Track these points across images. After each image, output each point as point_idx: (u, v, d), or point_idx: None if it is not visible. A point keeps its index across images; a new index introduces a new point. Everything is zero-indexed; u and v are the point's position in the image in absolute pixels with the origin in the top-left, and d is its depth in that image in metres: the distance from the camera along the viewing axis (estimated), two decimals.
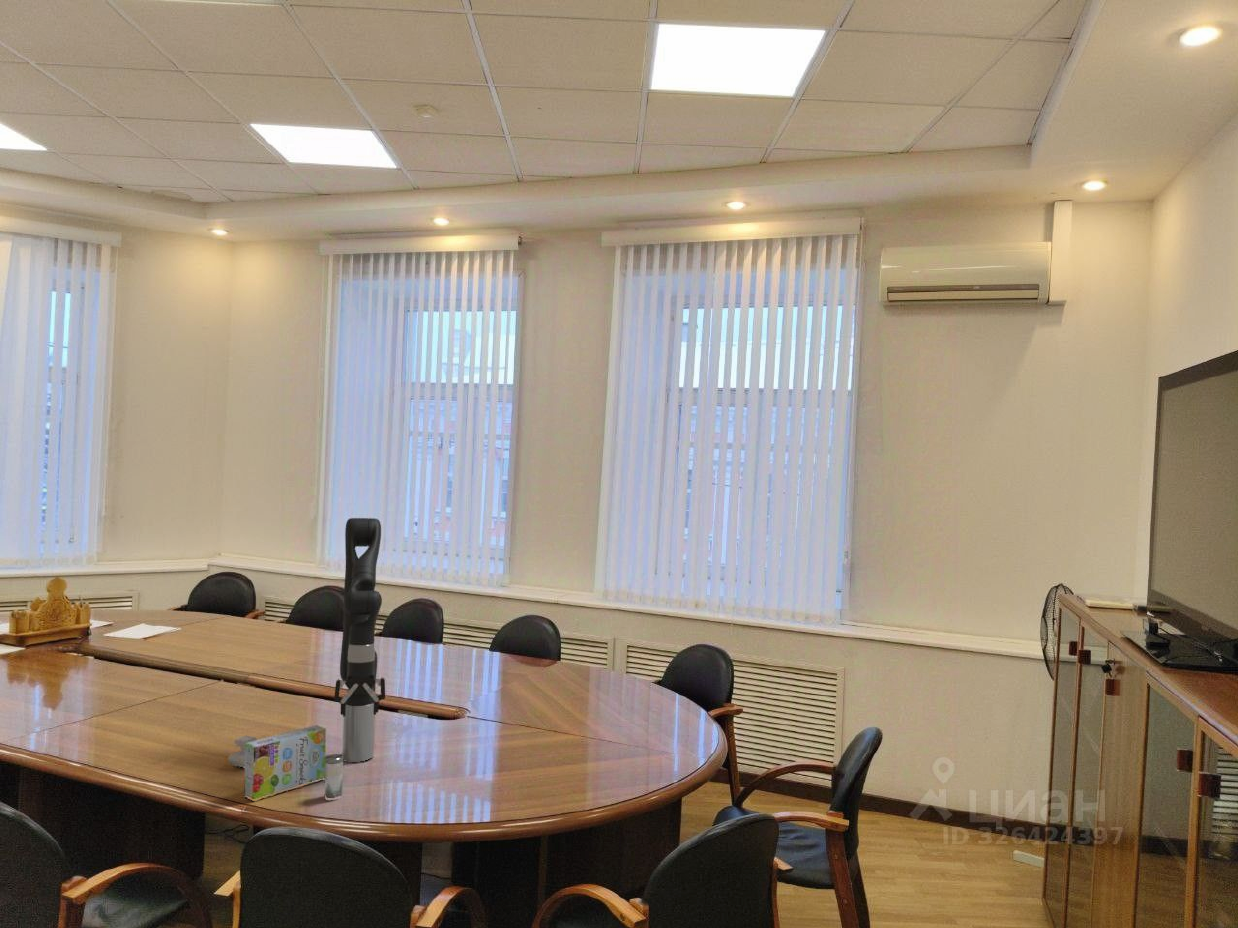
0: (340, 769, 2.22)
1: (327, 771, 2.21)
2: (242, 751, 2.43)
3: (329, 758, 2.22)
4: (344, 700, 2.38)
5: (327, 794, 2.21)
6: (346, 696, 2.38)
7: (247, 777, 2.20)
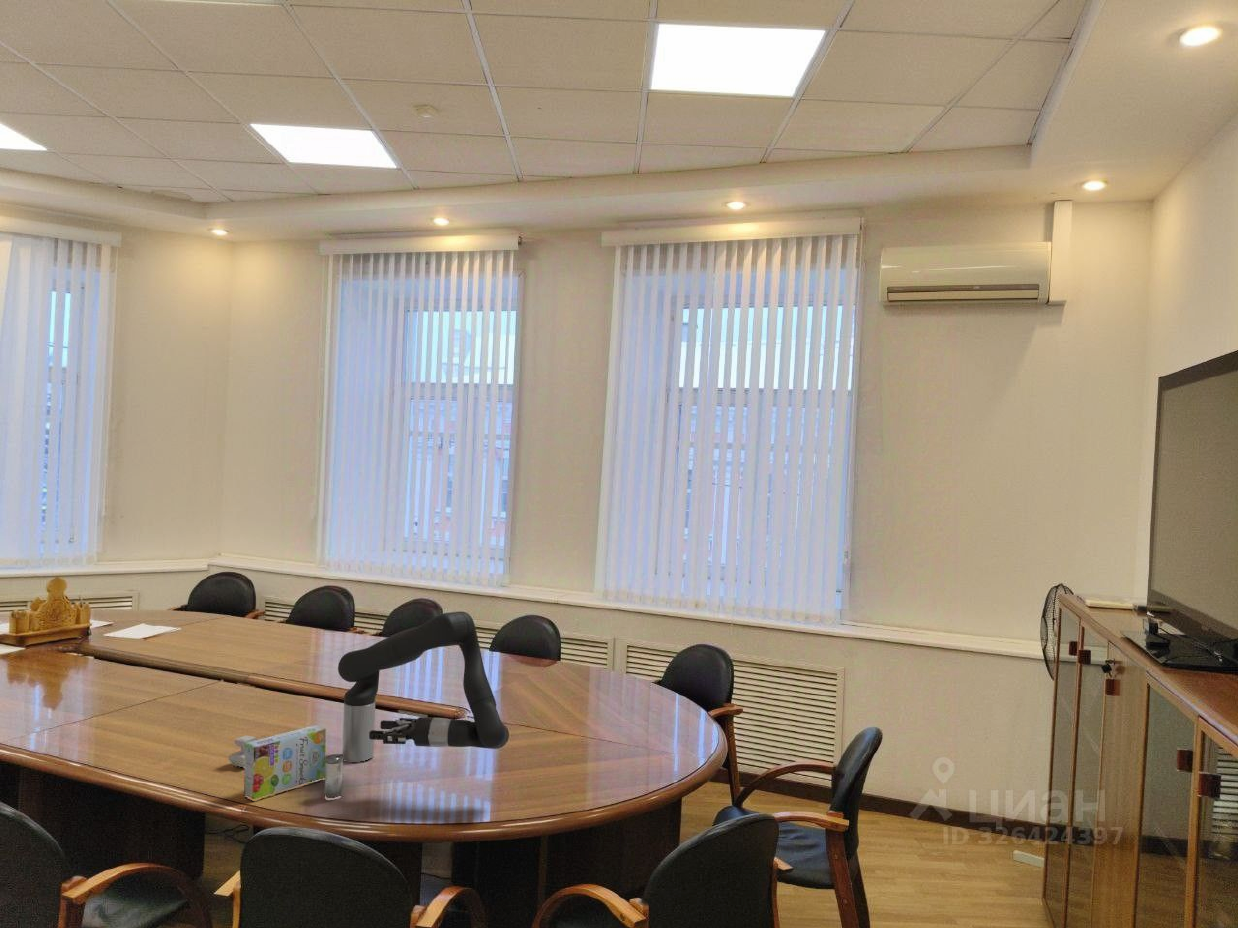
0: (340, 769, 2.22)
1: (327, 771, 2.21)
2: (242, 751, 2.43)
3: (329, 758, 2.22)
4: None
5: (327, 794, 2.21)
6: None
7: (247, 777, 2.20)
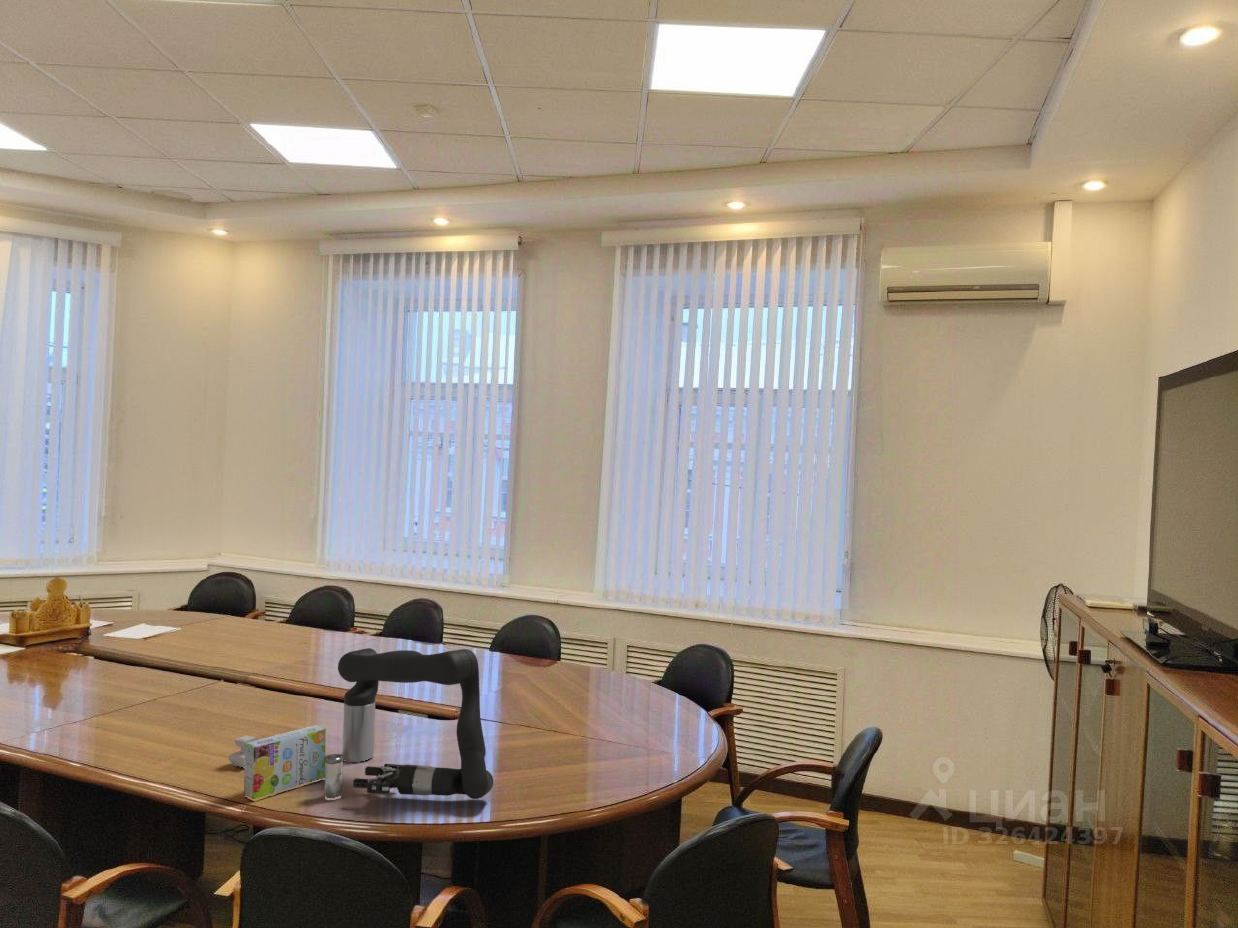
0: (340, 769, 2.22)
1: (327, 771, 2.21)
2: (242, 751, 2.43)
3: (329, 758, 2.22)
4: None
5: (327, 794, 2.21)
6: None
7: (247, 777, 2.20)
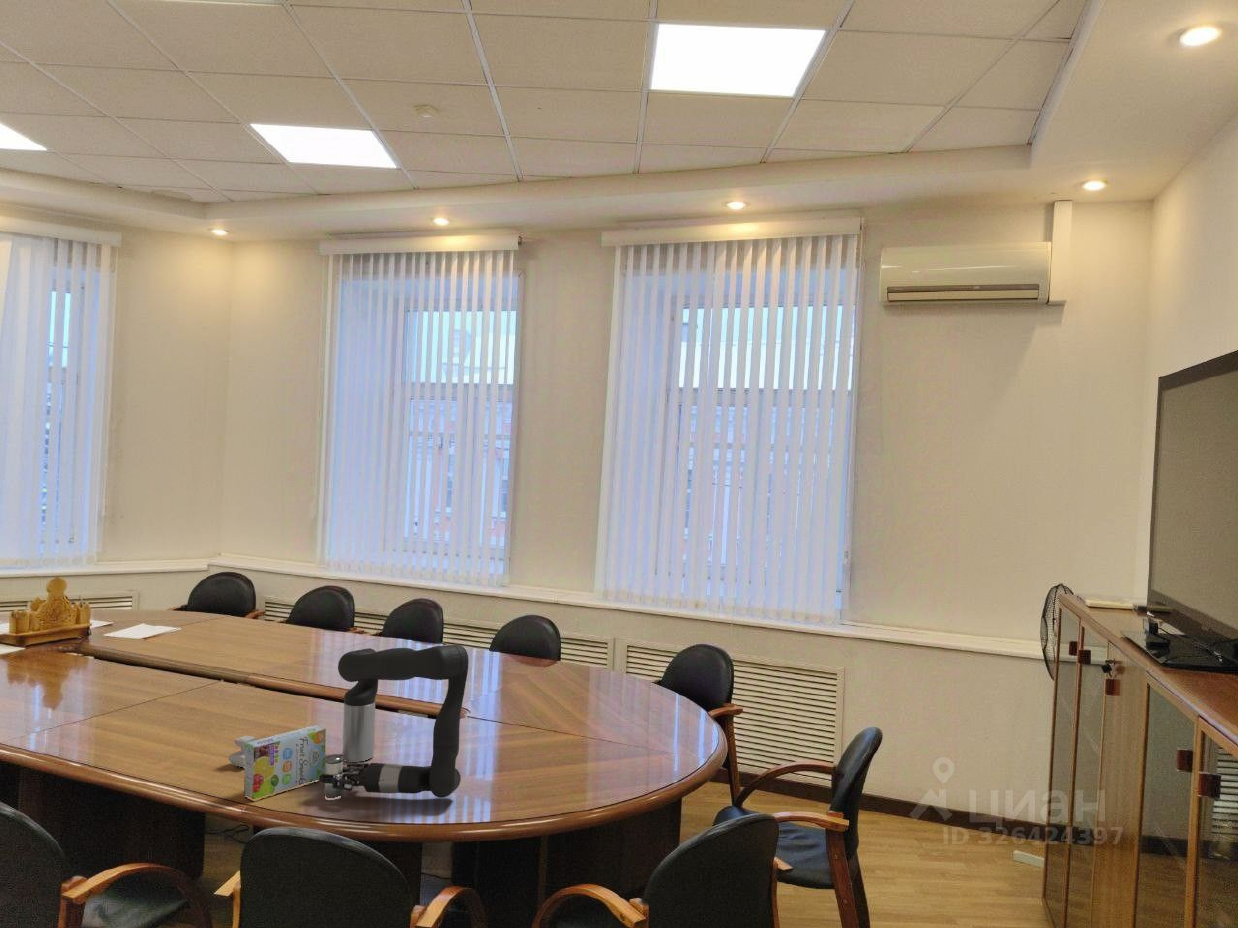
0: (340, 769, 2.22)
1: (327, 771, 2.21)
2: (242, 751, 2.43)
3: (329, 758, 2.22)
4: None
5: (327, 794, 2.21)
6: None
7: (247, 777, 2.20)
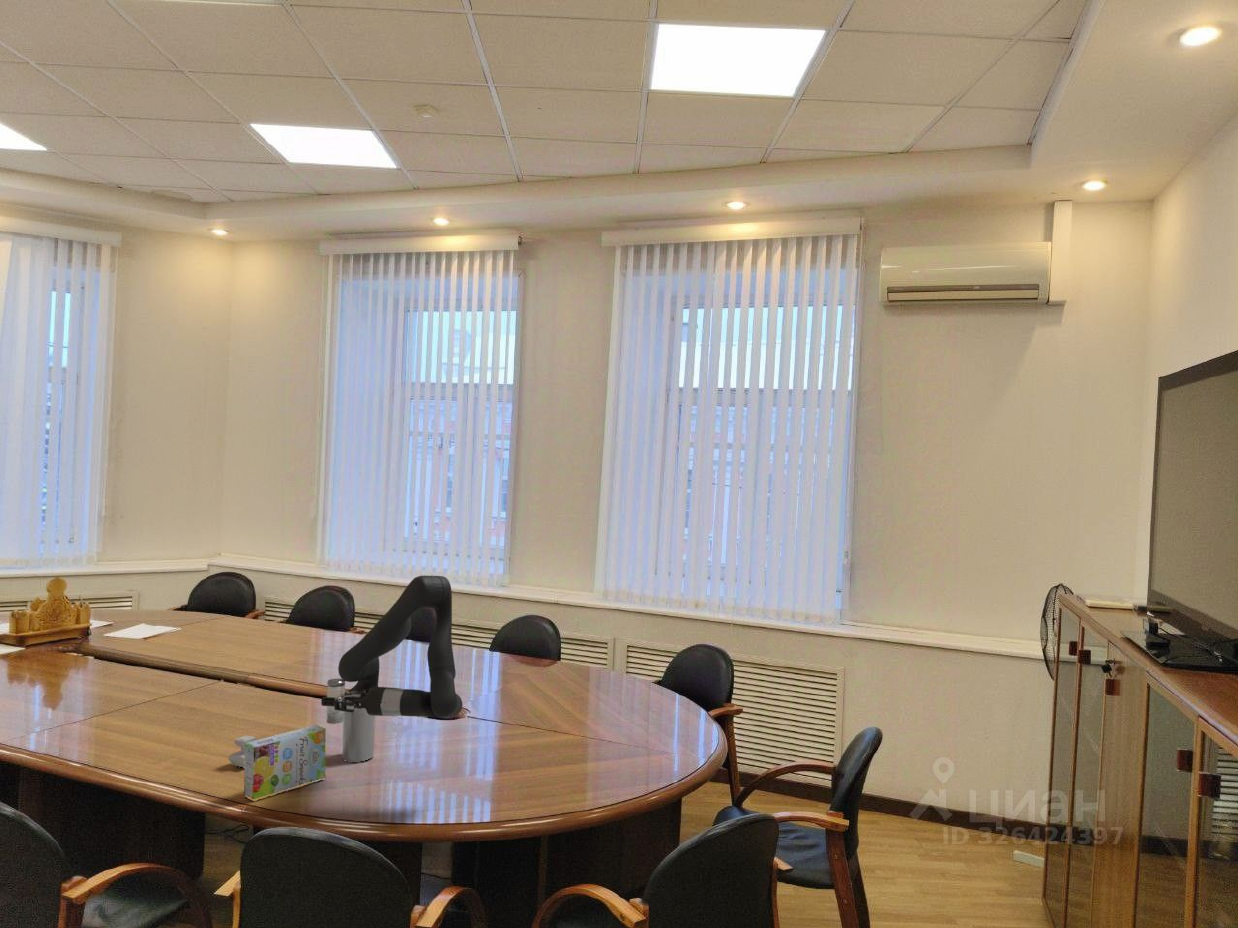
0: (342, 692, 2.22)
1: (329, 694, 2.21)
2: (242, 751, 2.43)
3: (331, 681, 2.22)
4: None
5: (329, 717, 2.21)
6: None
7: (247, 777, 2.20)
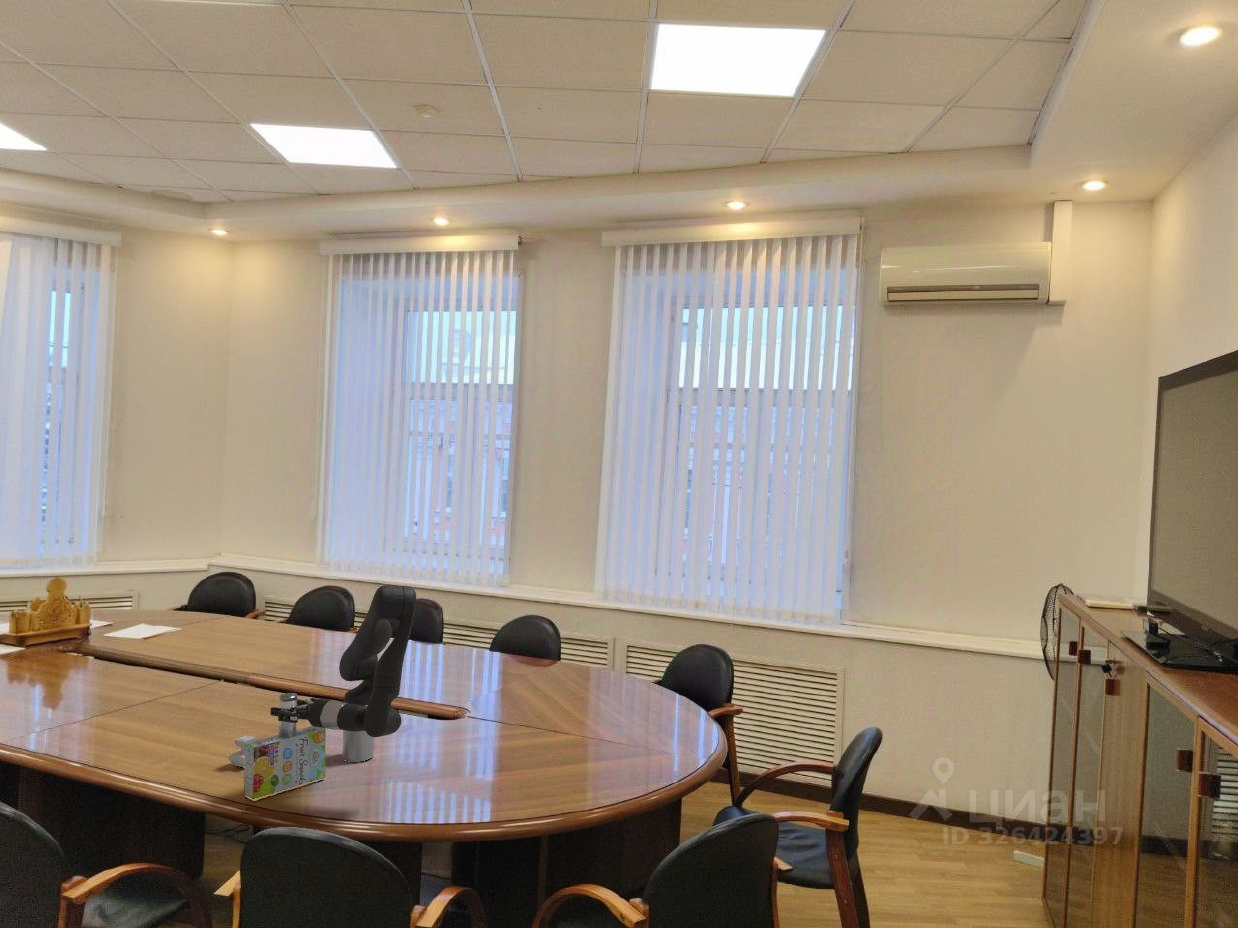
0: None
1: None
2: (242, 751, 2.43)
3: (283, 696, 2.27)
4: None
5: (279, 731, 2.26)
6: None
7: (247, 777, 2.20)
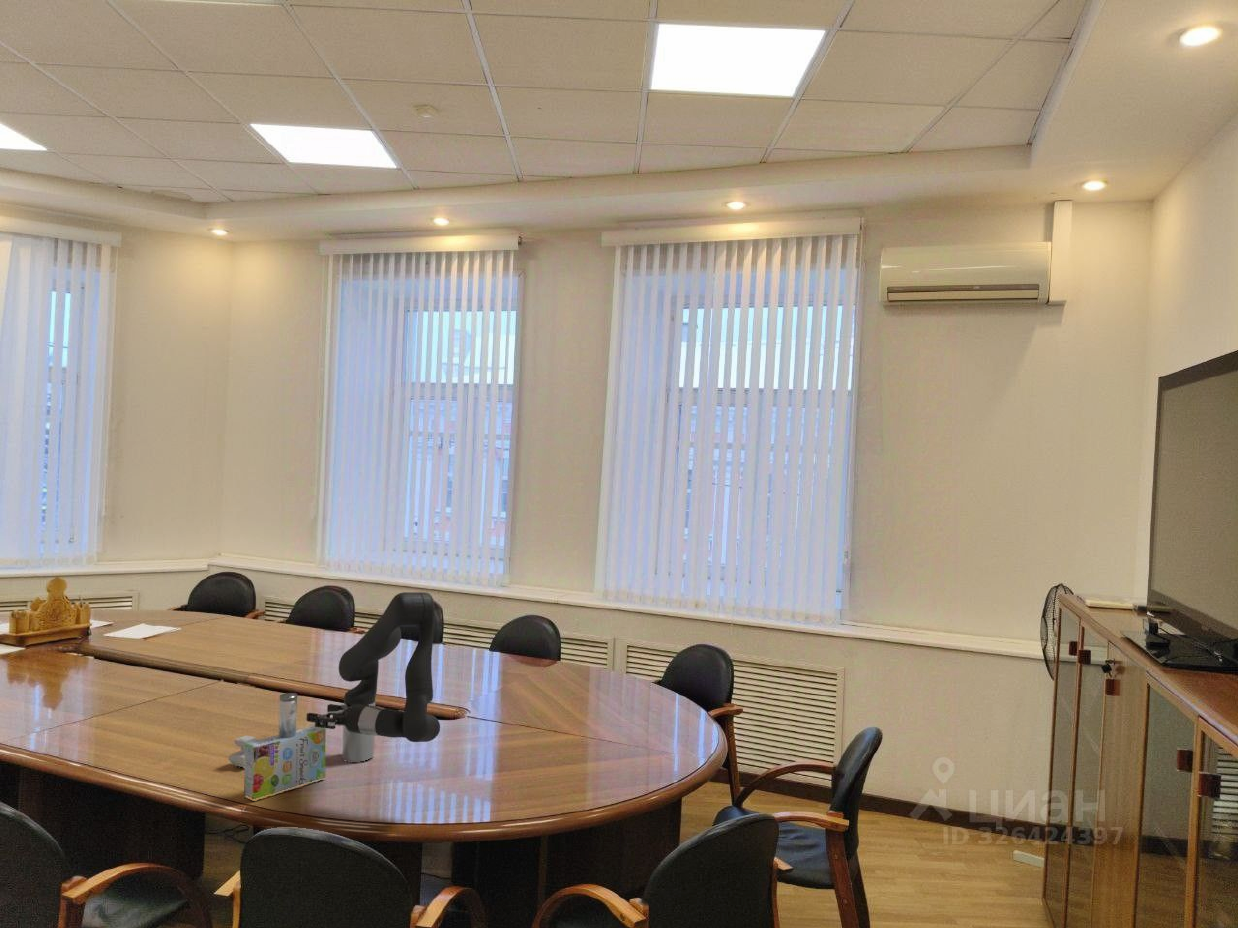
0: (292, 707, 2.27)
1: (280, 708, 2.26)
2: (242, 751, 2.43)
3: (282, 696, 2.27)
4: None
5: (279, 731, 2.26)
6: None
7: (248, 777, 2.20)
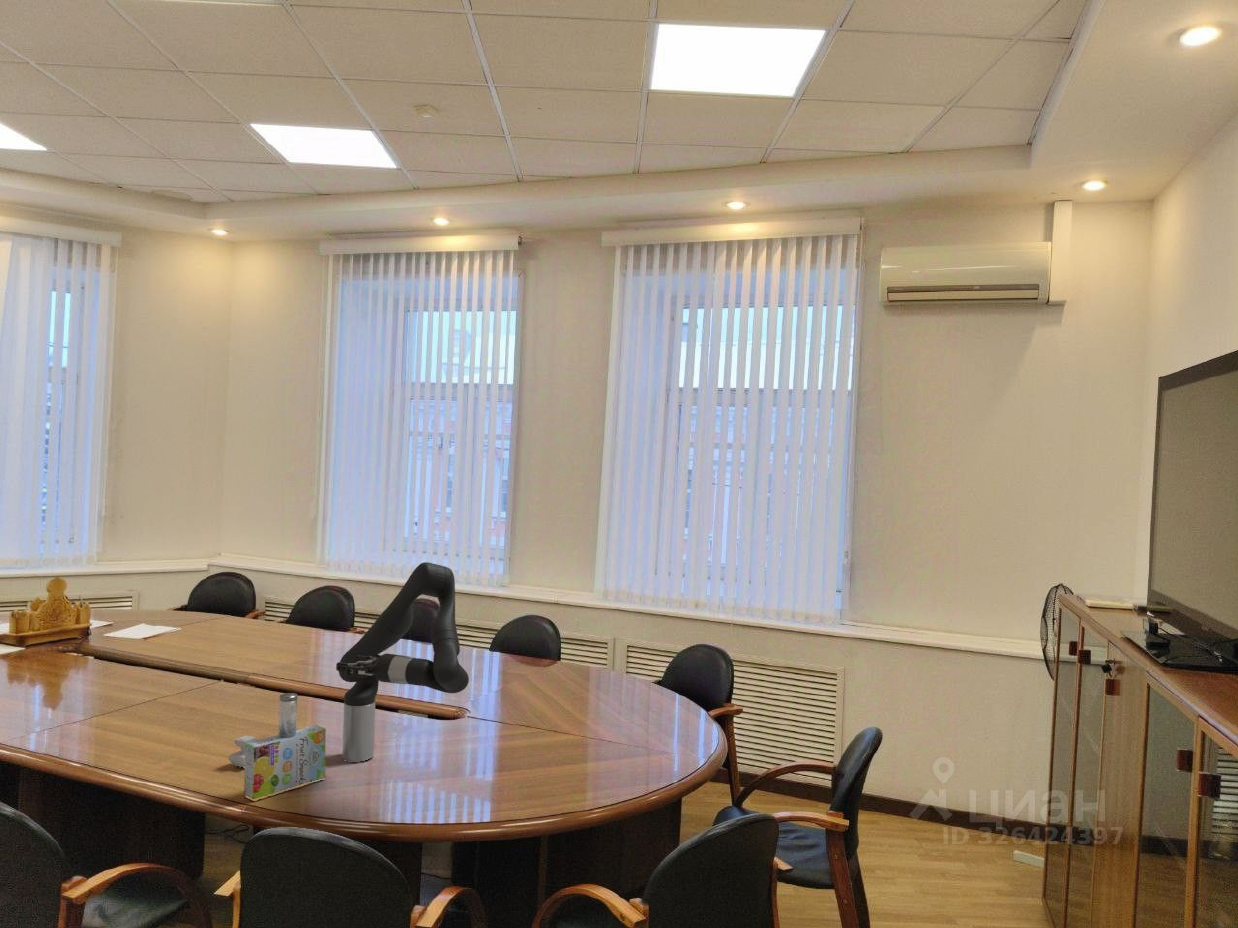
0: (293, 707, 2.27)
1: (280, 708, 2.26)
2: (242, 751, 2.43)
3: (283, 696, 2.27)
4: None
5: (279, 731, 2.26)
6: None
7: (248, 777, 2.20)
